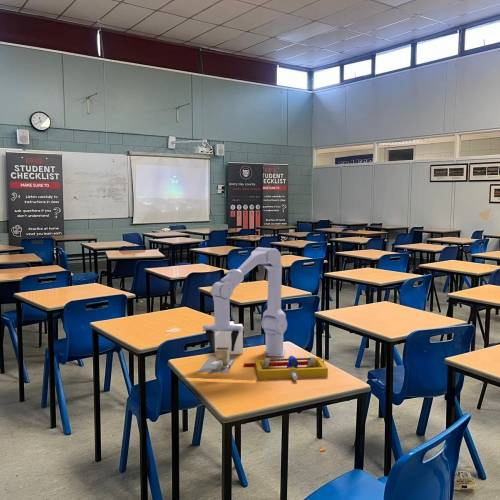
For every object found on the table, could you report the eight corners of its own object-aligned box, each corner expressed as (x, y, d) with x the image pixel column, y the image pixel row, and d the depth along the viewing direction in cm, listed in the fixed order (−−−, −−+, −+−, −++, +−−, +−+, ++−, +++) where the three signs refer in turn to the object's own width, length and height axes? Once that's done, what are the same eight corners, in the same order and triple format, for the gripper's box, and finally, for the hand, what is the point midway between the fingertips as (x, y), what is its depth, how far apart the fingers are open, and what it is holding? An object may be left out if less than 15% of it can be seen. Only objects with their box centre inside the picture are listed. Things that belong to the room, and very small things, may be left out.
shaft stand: (209, 358, 203) (209, 349, 202) (236, 359, 201) (236, 350, 201) (197, 374, 184) (197, 363, 184) (227, 375, 182) (227, 364, 182)
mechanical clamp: (243, 352, 191) (322, 349, 193) (243, 368, 191) (322, 365, 194) (247, 367, 173) (334, 364, 175) (247, 385, 173) (334, 381, 176)
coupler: (215, 366, 189) (215, 349, 189) (218, 362, 193) (217, 345, 193) (227, 366, 188) (227, 349, 188) (229, 363, 193) (229, 346, 192)
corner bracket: (243, 356, 206) (242, 326, 205) (214, 357, 205) (214, 327, 205) (241, 349, 217) (241, 321, 216) (215, 349, 216) (214, 321, 215)
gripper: (200, 316, 187) (201, 352, 188) (239, 317, 185) (240, 353, 186) (204, 312, 194) (205, 347, 195) (242, 313, 192) (243, 348, 193)
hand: (222, 350), depth 191 cm, fingers open, 7 cm apart
